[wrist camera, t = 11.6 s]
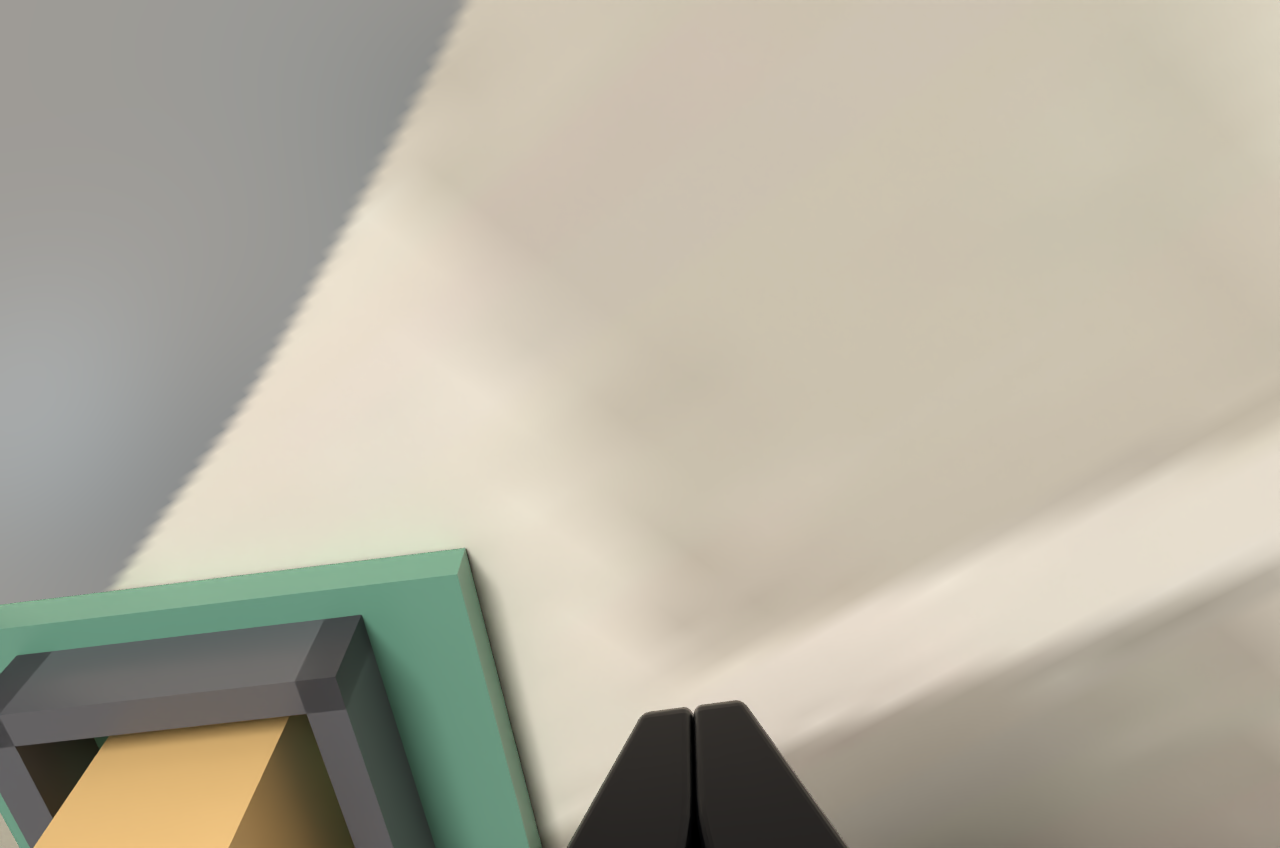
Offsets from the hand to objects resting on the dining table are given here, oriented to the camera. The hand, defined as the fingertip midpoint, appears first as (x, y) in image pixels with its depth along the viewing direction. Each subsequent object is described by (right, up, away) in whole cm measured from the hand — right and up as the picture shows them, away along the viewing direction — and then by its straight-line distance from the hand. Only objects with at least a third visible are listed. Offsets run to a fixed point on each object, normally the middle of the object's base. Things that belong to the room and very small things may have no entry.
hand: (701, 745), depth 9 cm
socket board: (-9, -6, +16) cm, 20 cm away
